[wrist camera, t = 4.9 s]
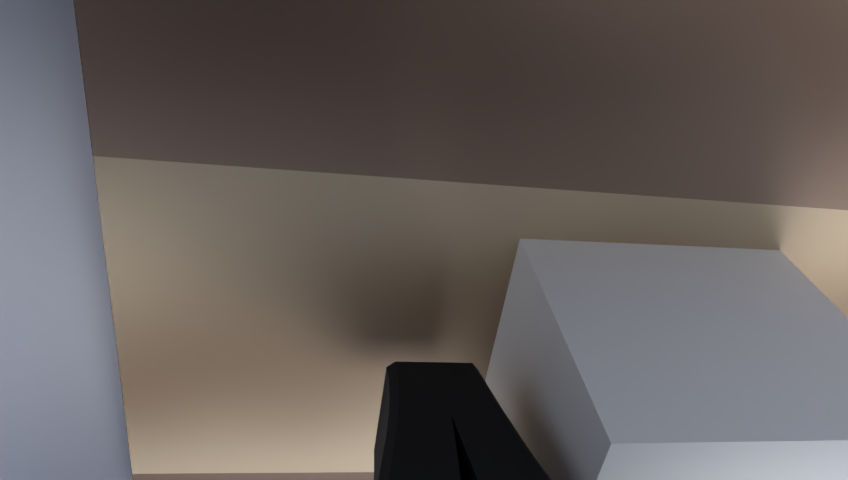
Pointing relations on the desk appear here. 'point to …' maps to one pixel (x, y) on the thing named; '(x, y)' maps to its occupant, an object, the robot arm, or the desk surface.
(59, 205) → the desk surface
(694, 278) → the white block
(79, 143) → the desk surface
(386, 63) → the trap board
